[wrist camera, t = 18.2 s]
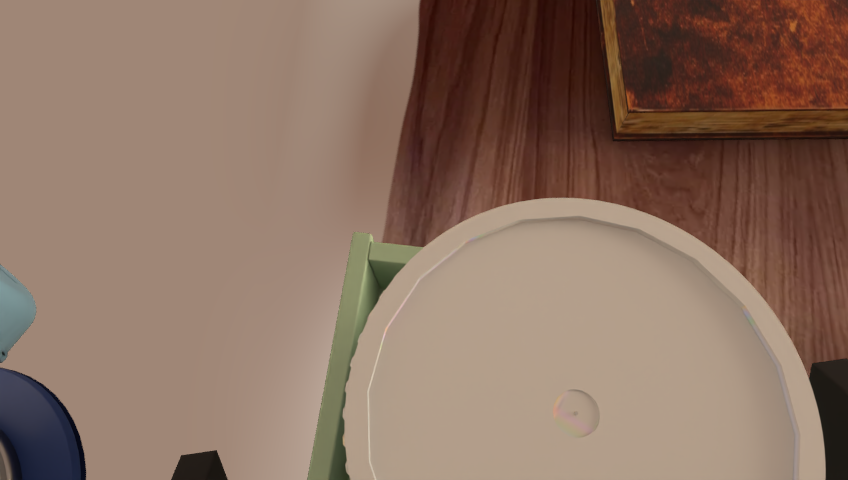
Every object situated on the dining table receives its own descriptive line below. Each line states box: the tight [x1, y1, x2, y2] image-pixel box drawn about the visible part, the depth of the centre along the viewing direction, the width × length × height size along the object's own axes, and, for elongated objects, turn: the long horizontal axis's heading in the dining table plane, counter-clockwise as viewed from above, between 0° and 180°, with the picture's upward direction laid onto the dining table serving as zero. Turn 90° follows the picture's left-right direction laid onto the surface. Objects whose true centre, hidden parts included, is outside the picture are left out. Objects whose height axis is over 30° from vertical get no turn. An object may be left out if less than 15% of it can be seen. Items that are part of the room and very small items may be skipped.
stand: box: [307, 232, 423, 480], centre depth 32 cm, size 12×12×30 cm
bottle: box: [343, 198, 826, 480], centre depth 14 cm, size 7×7×15 cm
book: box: [596, 0, 848, 141], centre depth 56 cm, size 30×24×5 cm
